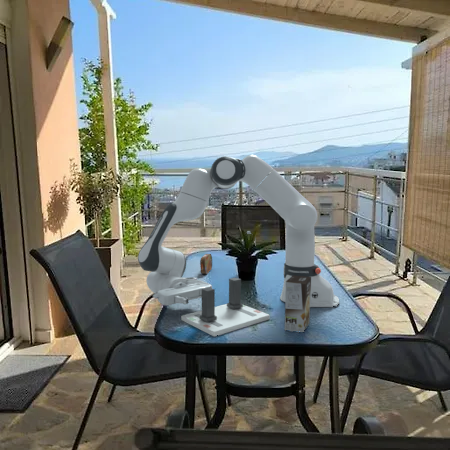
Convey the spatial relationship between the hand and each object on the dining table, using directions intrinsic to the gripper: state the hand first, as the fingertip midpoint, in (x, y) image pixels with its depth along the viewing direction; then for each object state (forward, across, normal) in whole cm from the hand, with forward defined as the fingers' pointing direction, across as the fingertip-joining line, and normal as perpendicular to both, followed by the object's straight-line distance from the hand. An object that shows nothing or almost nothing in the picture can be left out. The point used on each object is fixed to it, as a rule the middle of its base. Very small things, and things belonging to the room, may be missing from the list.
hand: (198, 298), depth 144 cm
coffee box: (+25, +21, +8) cm, 34 cm away
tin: (-50, +41, +8) cm, 66 cm away
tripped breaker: (+6, 0, +6) cm, 8 cm away
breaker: (+2, +15, +6) cm, 16 cm away
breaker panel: (+6, +7, +7) cm, 12 cm away
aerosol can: (-38, +58, +8) cm, 70 cm away
